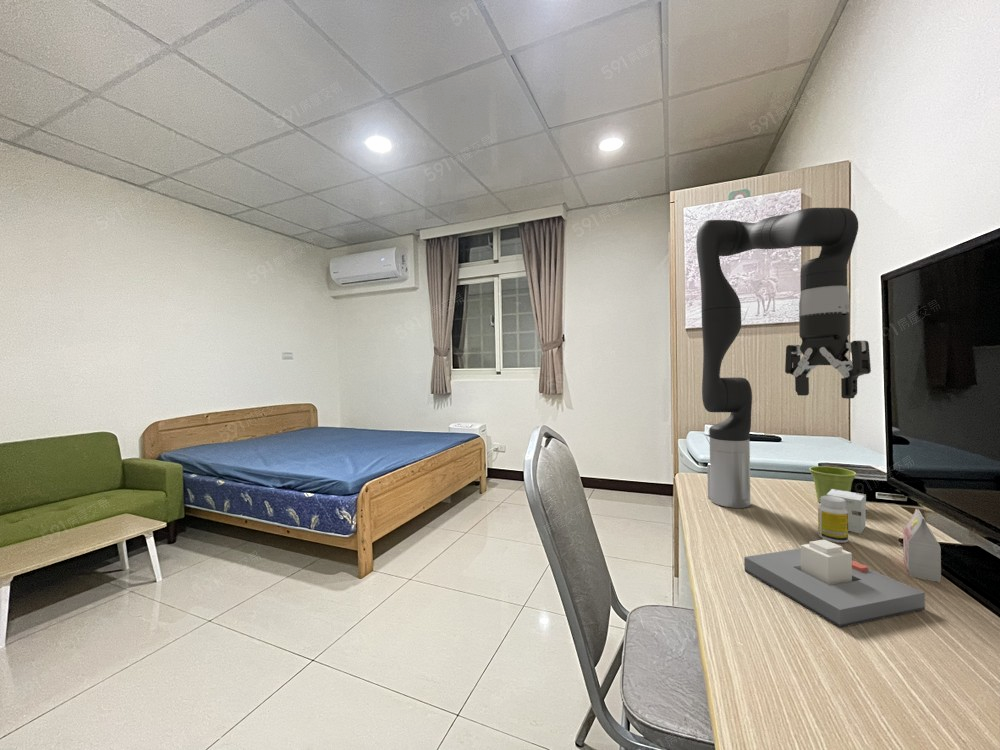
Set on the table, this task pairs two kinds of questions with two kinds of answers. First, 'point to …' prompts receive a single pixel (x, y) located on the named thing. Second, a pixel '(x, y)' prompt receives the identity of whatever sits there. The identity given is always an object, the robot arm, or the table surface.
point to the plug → (826, 562)
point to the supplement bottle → (833, 519)
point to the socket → (836, 590)
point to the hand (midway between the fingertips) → (824, 396)
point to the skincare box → (853, 508)
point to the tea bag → (921, 549)
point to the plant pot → (831, 479)
